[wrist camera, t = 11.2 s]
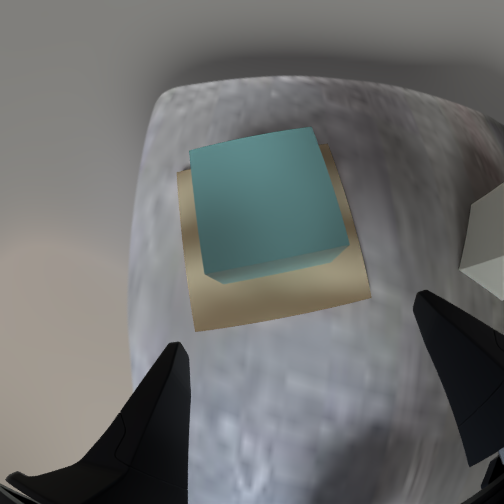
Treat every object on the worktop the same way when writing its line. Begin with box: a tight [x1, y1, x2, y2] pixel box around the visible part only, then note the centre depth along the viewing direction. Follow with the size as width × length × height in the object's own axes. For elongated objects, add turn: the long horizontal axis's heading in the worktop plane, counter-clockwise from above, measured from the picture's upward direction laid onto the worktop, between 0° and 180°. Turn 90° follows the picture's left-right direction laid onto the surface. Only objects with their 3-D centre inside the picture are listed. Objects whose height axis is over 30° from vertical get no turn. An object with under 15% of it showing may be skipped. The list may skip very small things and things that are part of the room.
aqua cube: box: [189, 127, 350, 284], centre depth 17 cm, size 7×7×6 cm
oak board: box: [177, 144, 371, 332], centre depth 20 cm, size 13×13×1 cm
